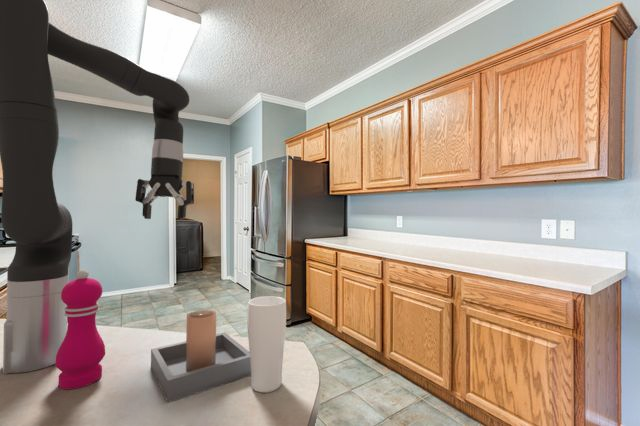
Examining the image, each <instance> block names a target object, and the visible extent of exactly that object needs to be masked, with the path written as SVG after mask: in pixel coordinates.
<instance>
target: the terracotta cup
mask: <svg viewBox="0 0 640 426" xmlns="http://www.w3.org/2000/svg"><path fill="white" fill-rule="evenodd" d="M185 333H186V336H185V339H186V340H185V341H186V370H187V371H188V372H190V371H193V370H197V369H200V368H204V367H207V366H211V365H215V364H216V334H217V311H215V310H210V309H209V310H208V309H205V310H204V309H201V310H195V311H192V312H189V313H187V315H186V332H185Z"/></svg>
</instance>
